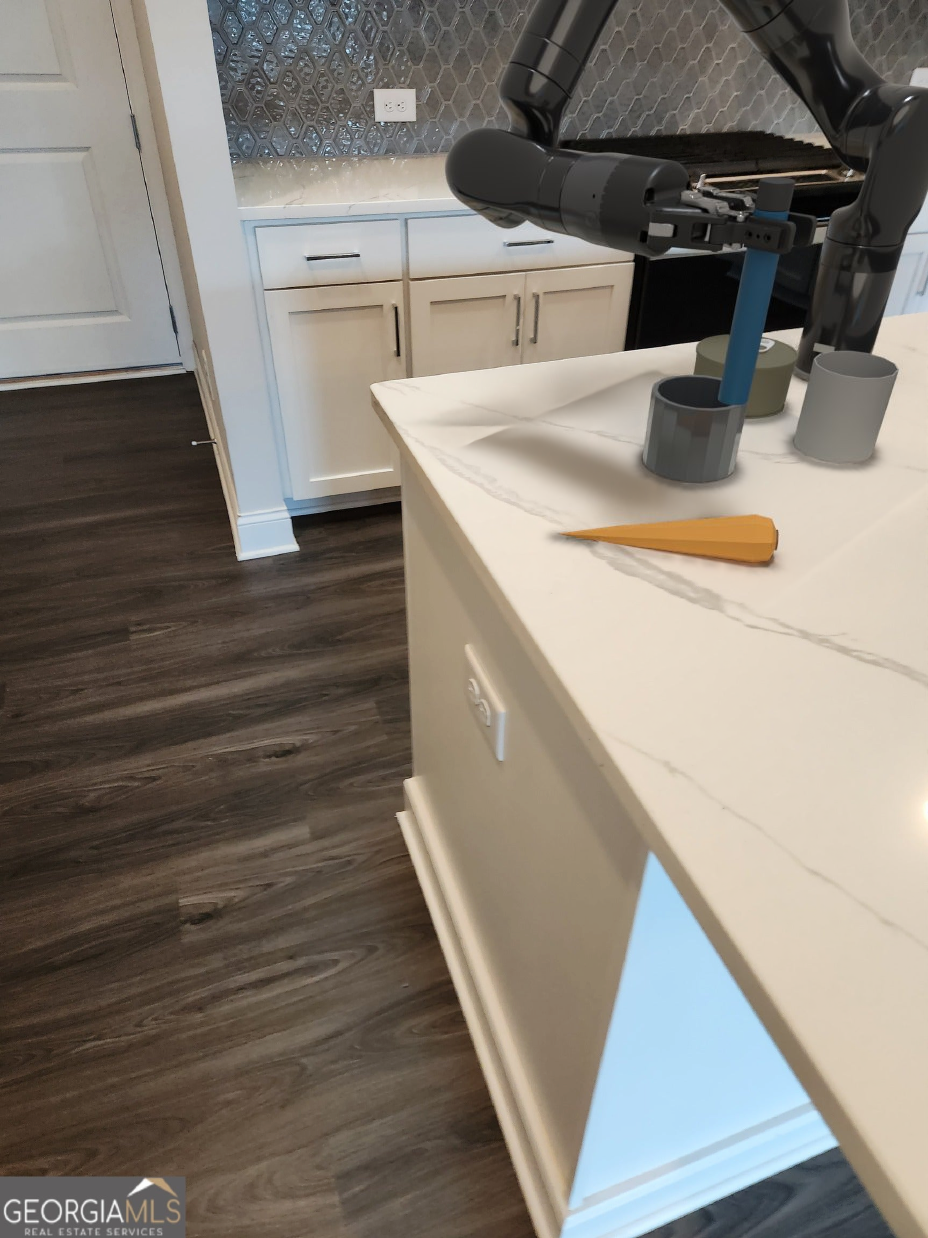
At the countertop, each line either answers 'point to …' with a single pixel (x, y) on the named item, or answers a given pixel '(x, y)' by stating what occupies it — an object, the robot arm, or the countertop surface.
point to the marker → (753, 297)
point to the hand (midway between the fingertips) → (801, 235)
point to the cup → (844, 406)
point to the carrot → (697, 536)
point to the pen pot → (692, 430)
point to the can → (768, 374)
